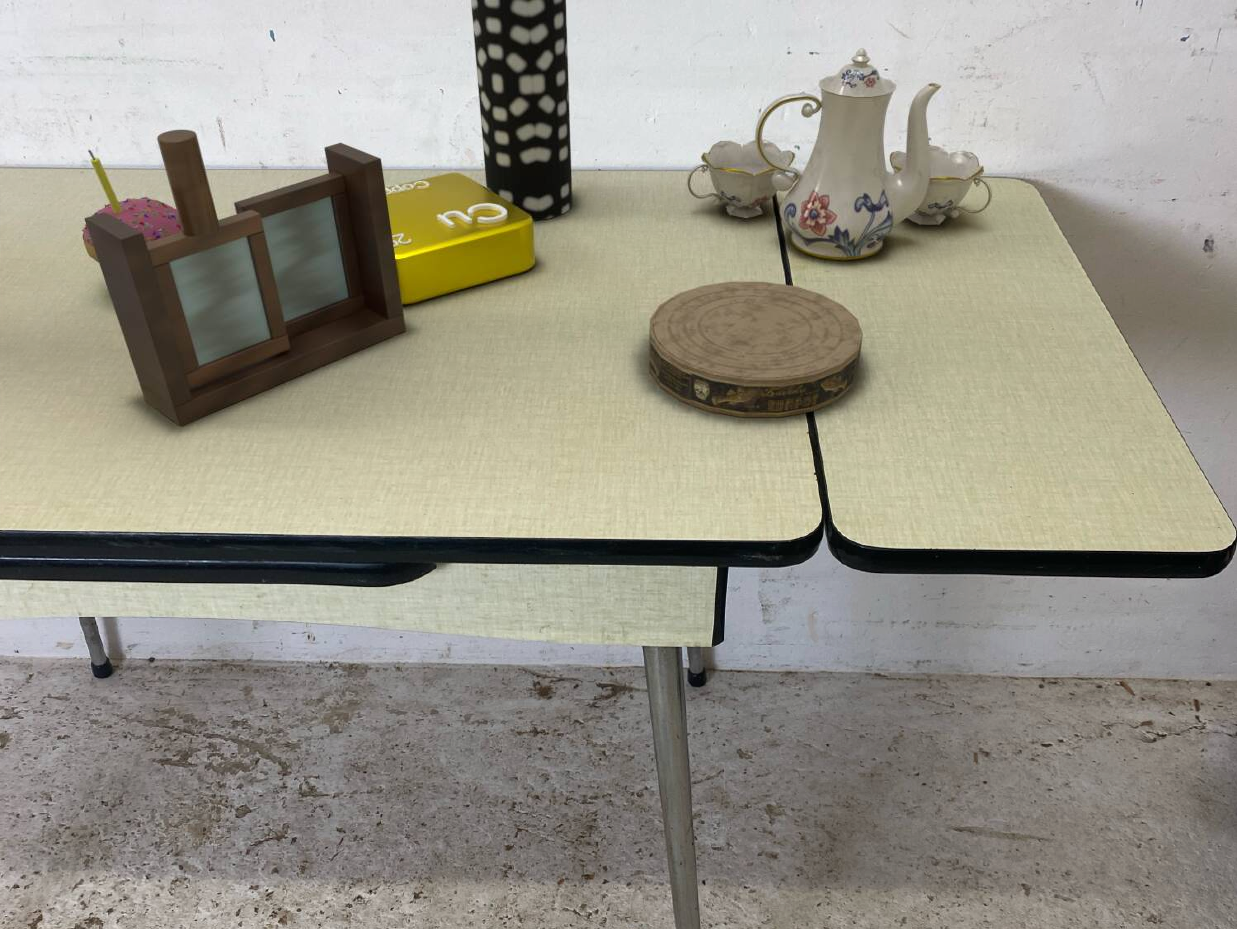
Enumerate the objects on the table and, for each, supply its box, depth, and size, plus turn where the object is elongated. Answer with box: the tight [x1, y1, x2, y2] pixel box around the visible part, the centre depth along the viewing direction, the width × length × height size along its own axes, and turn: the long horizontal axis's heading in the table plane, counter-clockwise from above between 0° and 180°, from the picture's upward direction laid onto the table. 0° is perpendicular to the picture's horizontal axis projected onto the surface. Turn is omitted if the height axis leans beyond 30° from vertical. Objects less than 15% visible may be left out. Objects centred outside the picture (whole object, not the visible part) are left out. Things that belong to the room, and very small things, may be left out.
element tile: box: [385, 172, 536, 306], centre depth 96 cm, size 15×15×5 cm
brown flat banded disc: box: [648, 281, 864, 418], centre depth 82 cm, size 16×16×3 cm
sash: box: [146, 129, 290, 389], centre depth 74 cm, size 8×2×16 cm, turn 136°
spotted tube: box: [470, 0, 573, 221], centre depth 100 cm, size 8×8×20 cm
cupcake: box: [81, 149, 182, 264], centre depth 89 cm, size 9×8×12 cm
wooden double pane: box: [84, 142, 407, 427], centre depth 79 cm, size 20×5×14 cm, turn 136°
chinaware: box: [686, 47, 993, 261], centre depth 97 cm, size 28×17×17 cm, turn 89°
